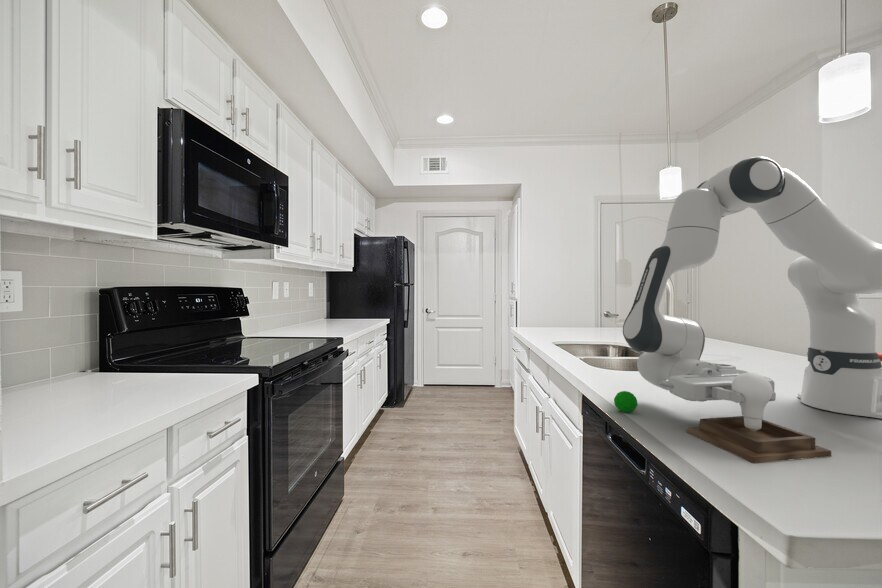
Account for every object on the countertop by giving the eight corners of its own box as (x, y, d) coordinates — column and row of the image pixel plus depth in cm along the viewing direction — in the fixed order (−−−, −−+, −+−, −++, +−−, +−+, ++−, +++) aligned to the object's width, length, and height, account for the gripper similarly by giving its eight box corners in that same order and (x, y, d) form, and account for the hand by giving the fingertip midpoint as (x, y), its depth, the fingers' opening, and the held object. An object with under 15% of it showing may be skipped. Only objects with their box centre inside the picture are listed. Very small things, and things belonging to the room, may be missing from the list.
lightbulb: (759, 426, 75) (757, 369, 75) (783, 437, 69) (780, 375, 69) (725, 425, 76) (723, 369, 76) (746, 436, 70) (744, 375, 70)
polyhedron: (609, 410, 92) (609, 391, 92) (621, 407, 95) (621, 388, 95) (629, 416, 88) (630, 396, 88) (641, 412, 91) (641, 392, 91)
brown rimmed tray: (753, 427, 81) (754, 413, 81) (831, 456, 67) (831, 439, 67) (687, 432, 78) (687, 417, 78) (753, 463, 64) (753, 445, 64)
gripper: (655, 367, 84) (709, 382, 70) (736, 364, 87) (802, 379, 73) (654, 395, 84) (708, 417, 70) (735, 392, 87) (802, 411, 73)
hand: (757, 397), depth 72 cm, fingers closed on lightbulb, 5 cm apart
